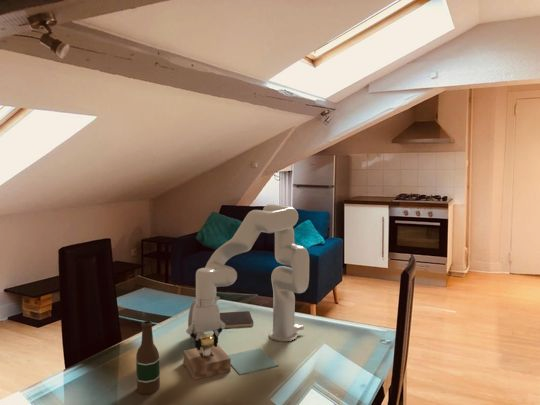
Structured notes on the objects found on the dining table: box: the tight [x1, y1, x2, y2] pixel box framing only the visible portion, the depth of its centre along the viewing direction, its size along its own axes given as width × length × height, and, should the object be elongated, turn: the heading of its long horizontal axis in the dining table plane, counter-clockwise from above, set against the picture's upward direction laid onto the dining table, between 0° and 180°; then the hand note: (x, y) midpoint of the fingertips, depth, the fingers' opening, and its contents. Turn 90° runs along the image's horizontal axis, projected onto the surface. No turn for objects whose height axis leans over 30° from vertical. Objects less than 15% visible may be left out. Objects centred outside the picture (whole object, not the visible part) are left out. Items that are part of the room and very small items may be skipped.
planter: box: [187, 298, 205, 344], centre depth 188 cm, size 18×7×19 cm, turn 0°
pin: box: [199, 333, 214, 358], centre depth 165 cm, size 6×6×12 cm
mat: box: [227, 347, 279, 376], centre depth 171 cm, size 16×16×1 cm
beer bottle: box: [135, 320, 161, 396], centre depth 149 cm, size 8×8×24 cm
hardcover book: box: [219, 310, 255, 329], centre depth 211 cm, size 16×23×2 cm
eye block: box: [182, 343, 232, 381], centre depth 166 cm, size 14×14×5 cm
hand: (206, 346), depth 165 cm, fingers closed on pin, 6 cm apart
